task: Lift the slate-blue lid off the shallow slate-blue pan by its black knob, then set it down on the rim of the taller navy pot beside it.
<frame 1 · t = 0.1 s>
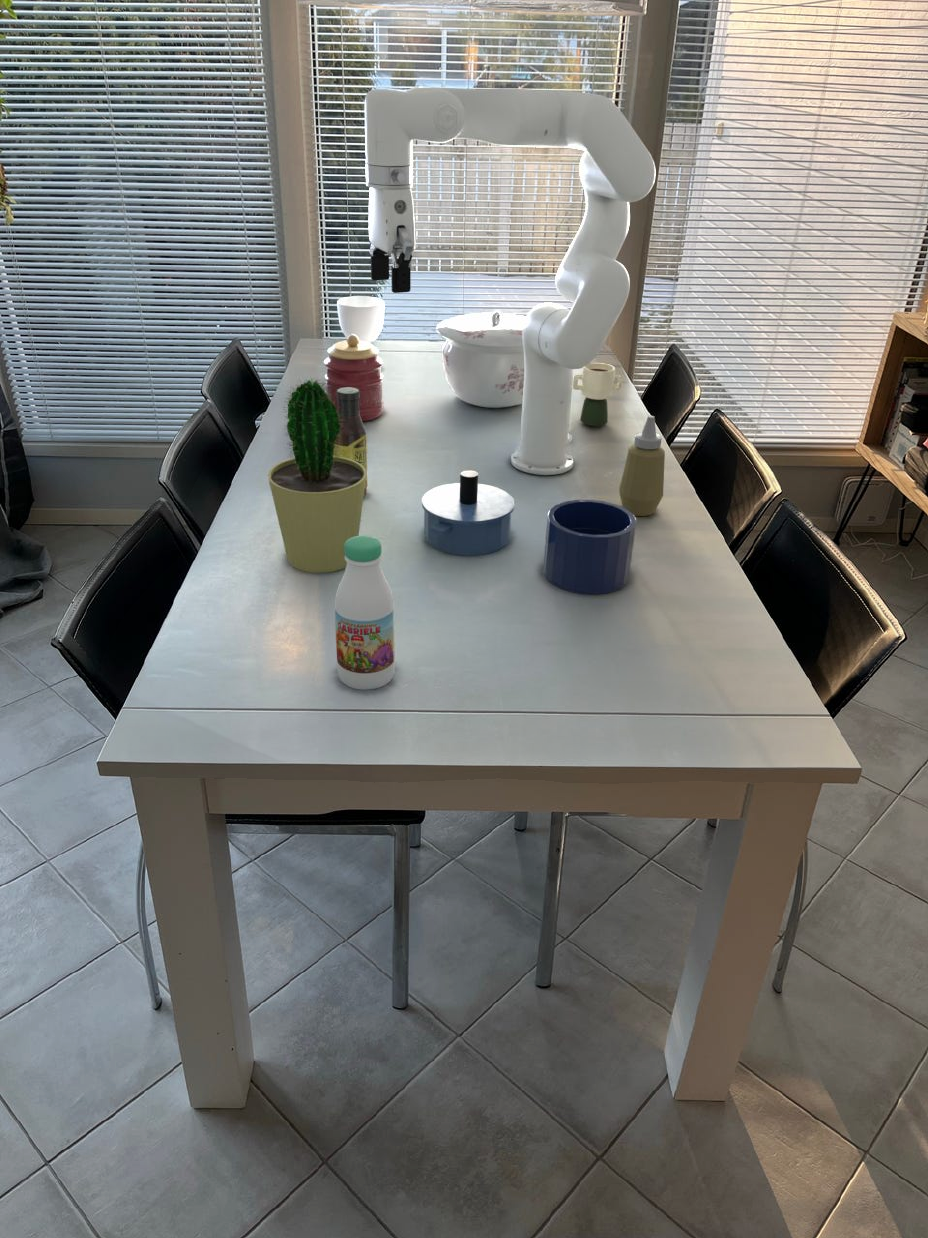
hand: (390, 285, 165), 37 cm above the table, tool pointing down, fingers open, 9 cm apart
lid: (468, 504, 164), point 6 cm above the table, touching pan
trophy: (593, 424, 218), on the table
pot: (585, 573, 157), on the table
chamber pot: (493, 399, 231), on the table
squeeze bottle: (638, 511, 179), on the table
potted cactus: (322, 557, 159), on the table
sauce bottle: (351, 495, 181), on the table
cup: (362, 370, 248), on the table
kitchen canister: (355, 413, 219), on the table
pan: (467, 536, 167), on the table
milk bottle: (366, 676, 130), on the table
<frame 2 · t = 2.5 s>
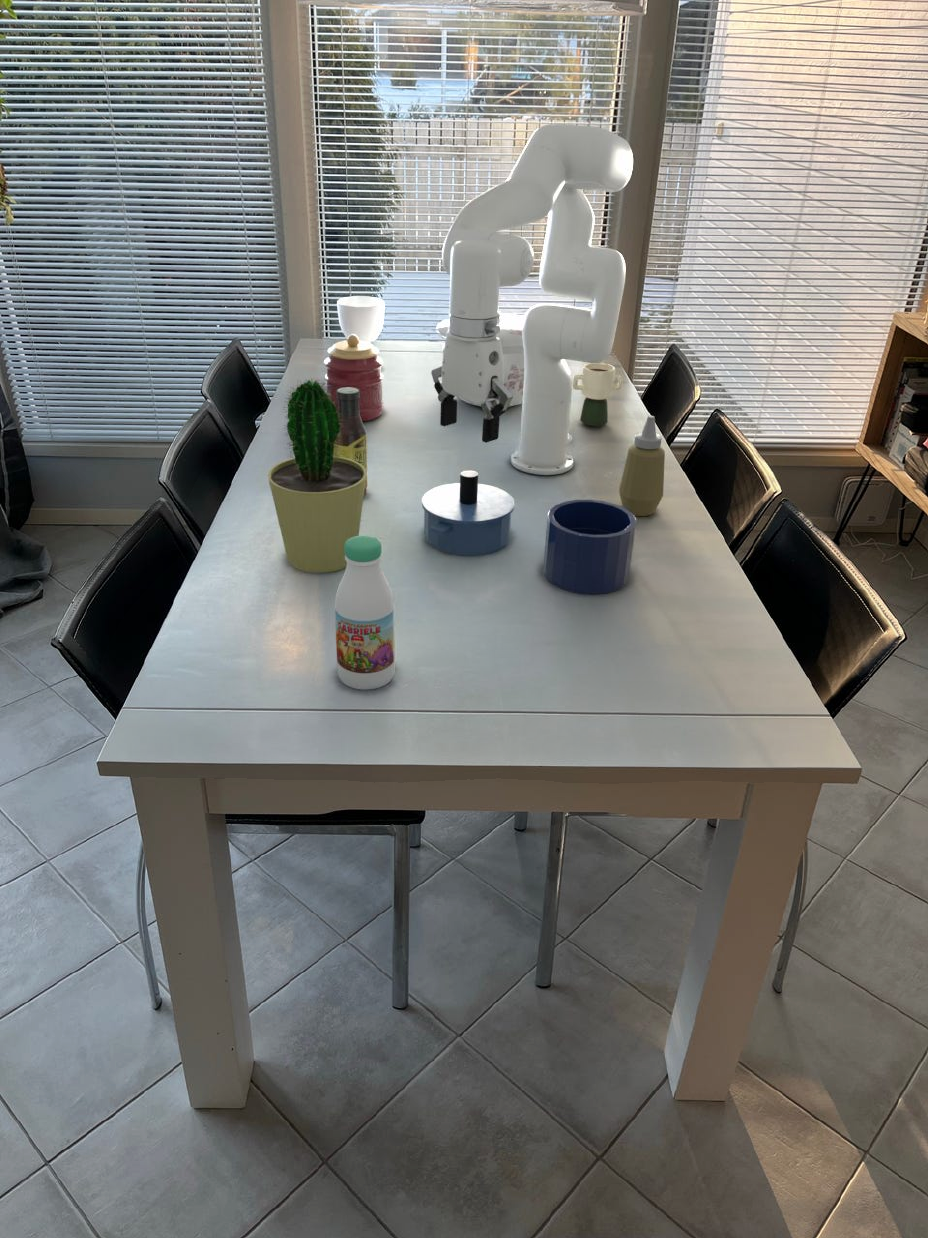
hand: (468, 432, 157), 19 cm above the table, tool pointing down, fingers open, 9 cm apart
nothing on the table moved.
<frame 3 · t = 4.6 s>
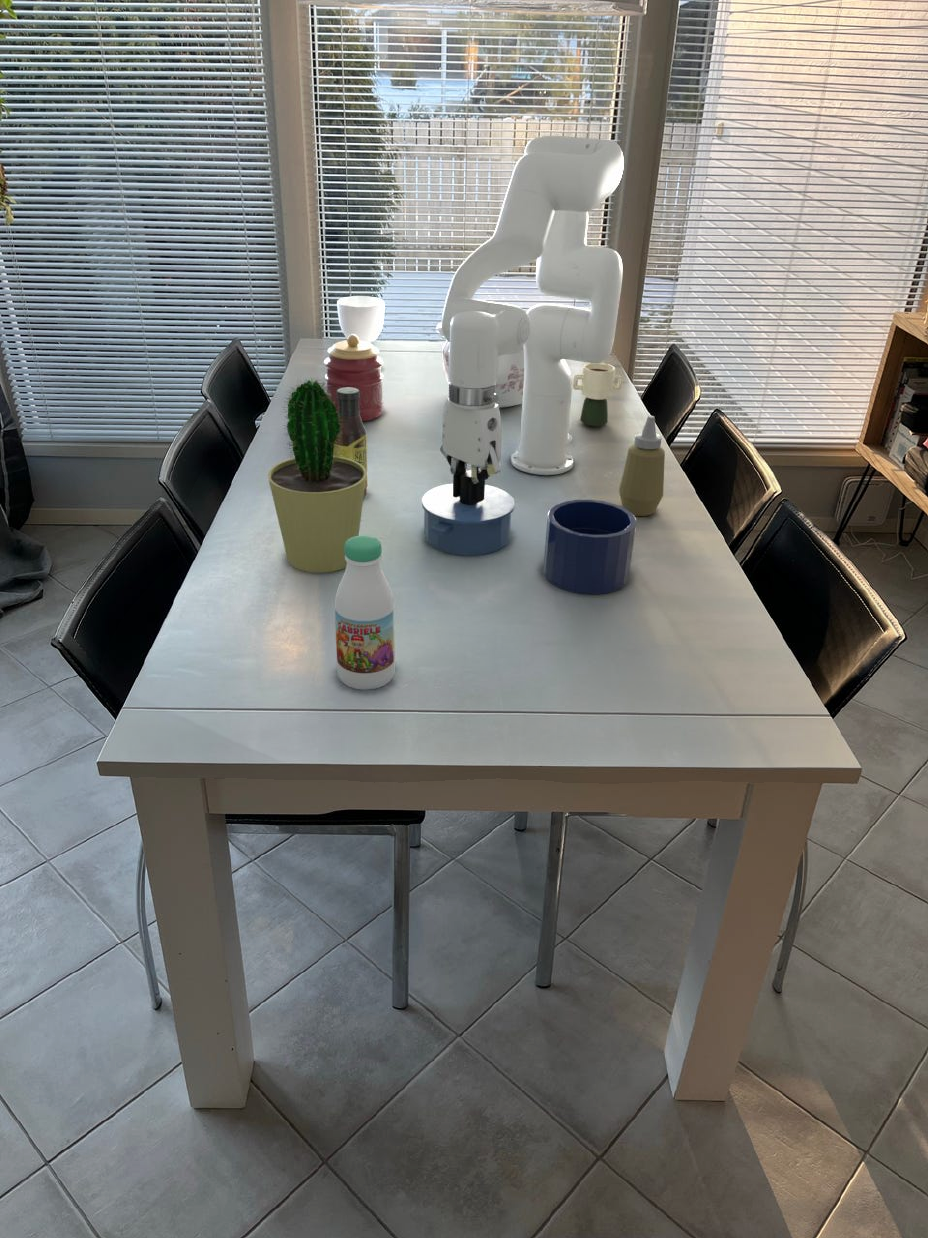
hand: (468, 497, 163), 7 cm above the table, tool pointing down, fingers closed on lid, 3 cm apart
lid: (468, 504, 164), point 6 cm above the table, touching gripper, pan
everything else where it was.
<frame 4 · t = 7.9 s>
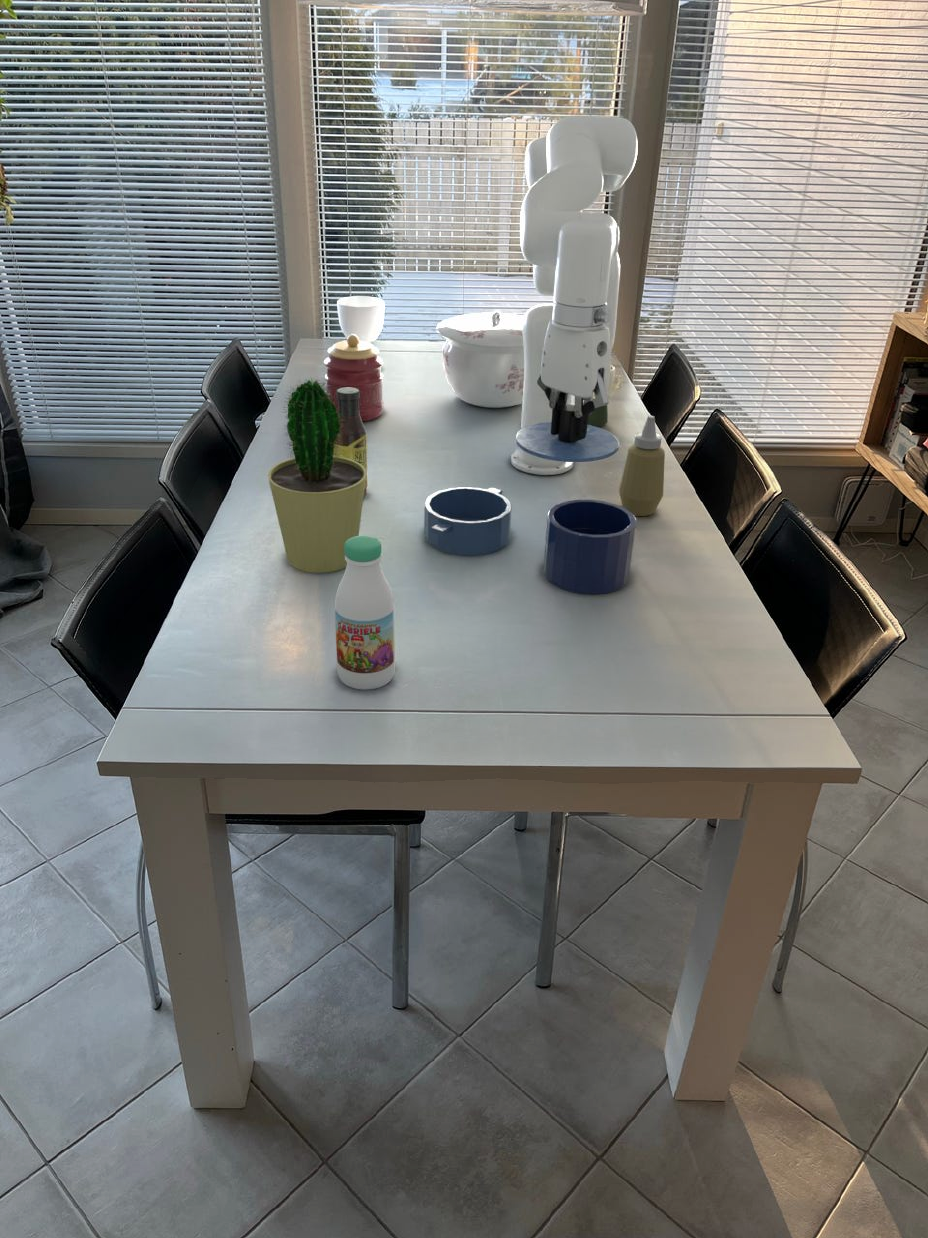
hand: (568, 435, 148), 22 cm above the table, tool pointing down, fingers closed on lid, 3 cm apart
lid: (567, 442, 148), point 21 cm above the table, touching gripper
everything else where it was.
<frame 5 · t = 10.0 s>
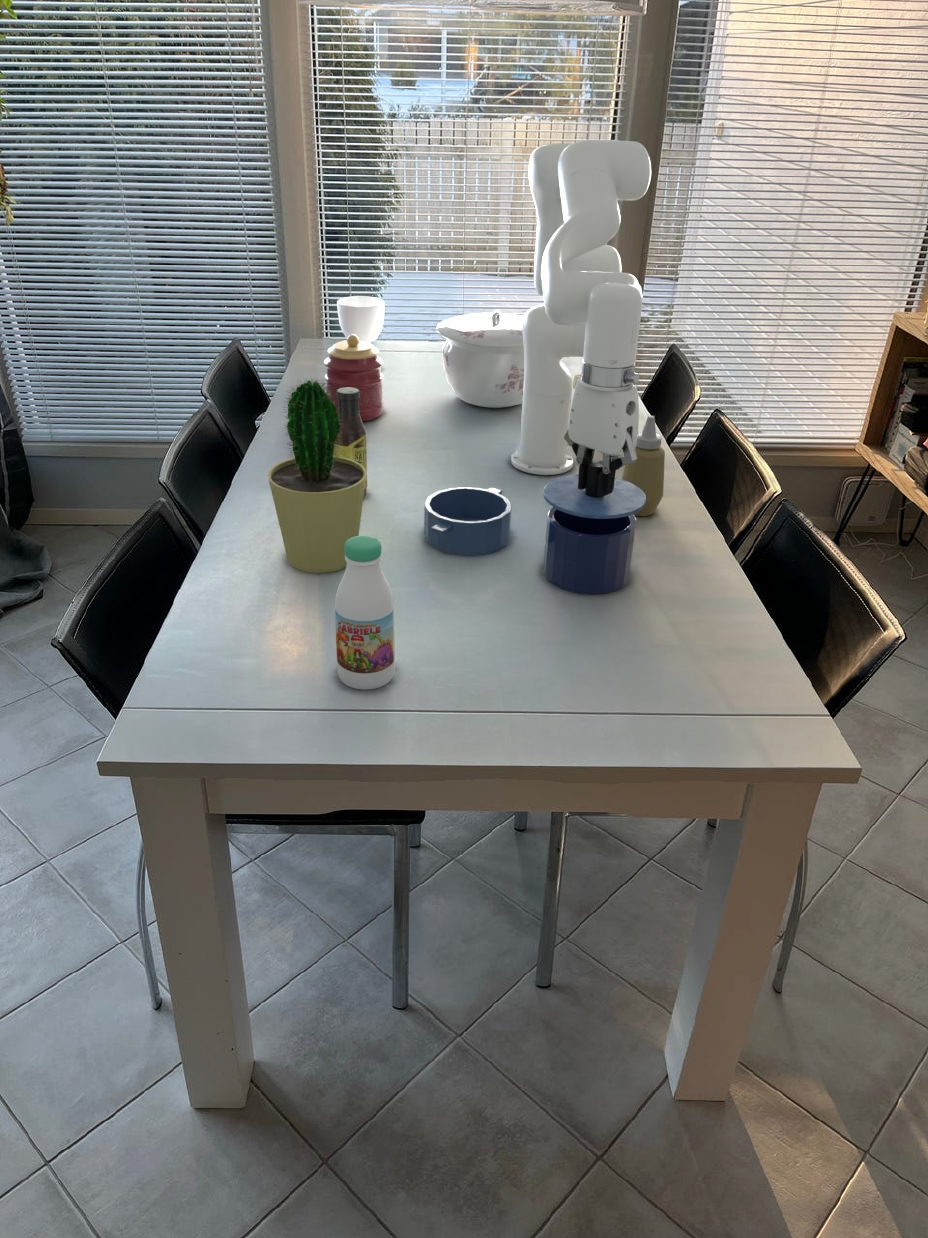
hand: (595, 489, 149), 15 cm above the table, tool pointing down, fingers closed on lid, 3 cm apart
lid: (594, 497, 150), point 14 cm above the table, touching gripper
everything else where it was.
when the fingers open (11 cm above the table, at t = 11.2 s): lid stays where it is, resting on pot.
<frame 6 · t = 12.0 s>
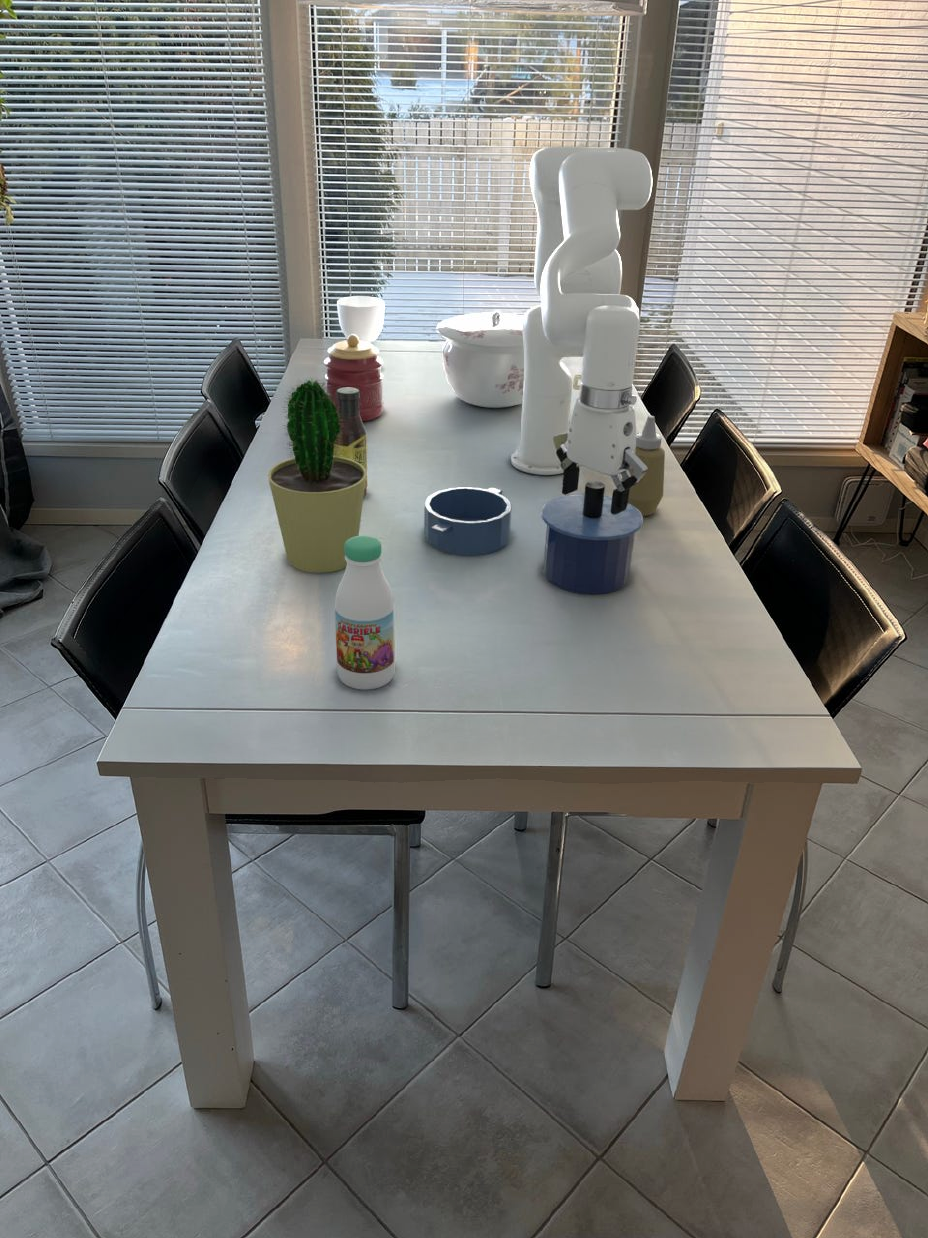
hand: (593, 501, 150), 13 cm above the table, tool pointing down, fingers open, 9 cm apart
lid: (591, 517, 152), point 10 cm above the table, touching pot
everything else where it was.
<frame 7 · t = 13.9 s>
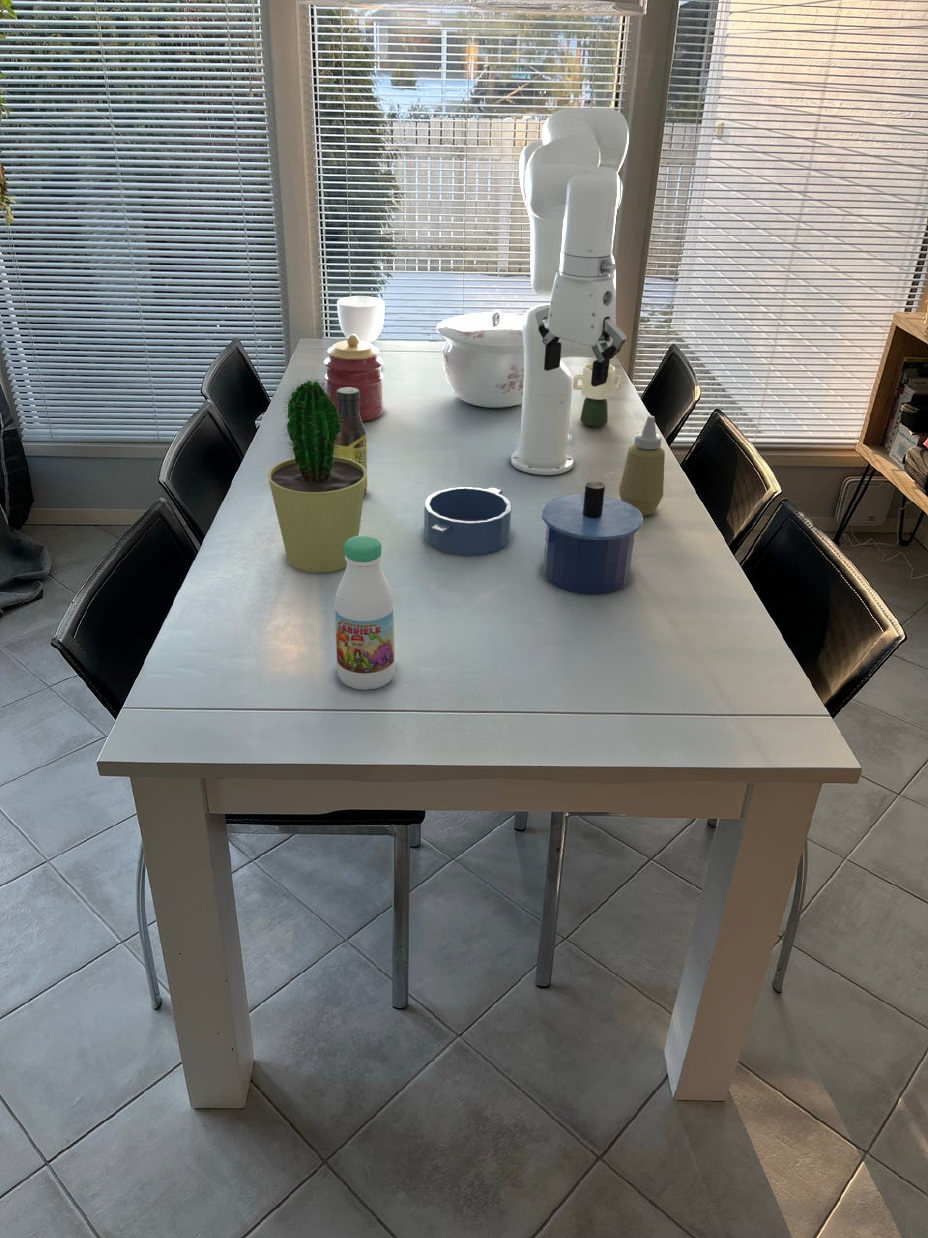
hand: (574, 376, 154), 28 cm above the table, tool pointing down, fingers open, 9 cm apart
nothing on the table moved.
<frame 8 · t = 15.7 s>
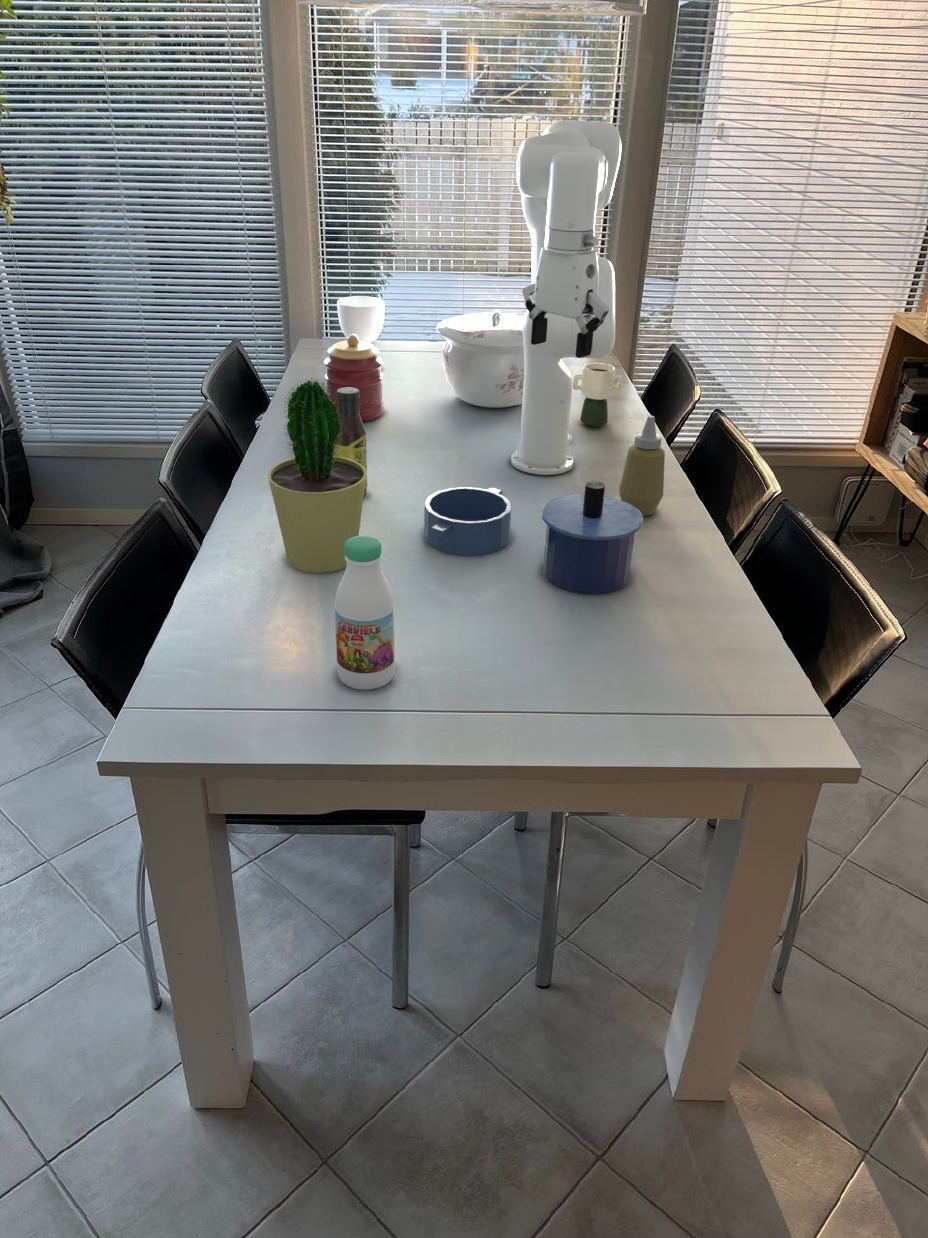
hand: (560, 349, 159), 30 cm above the table, tool pointing down, fingers open, 9 cm apart
nothing on the table moved.
at the end: lid 0.1 cm off-centre on the pot, point 10.0 cm above the pot's base; lid tilted 0°; lid touching pot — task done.
